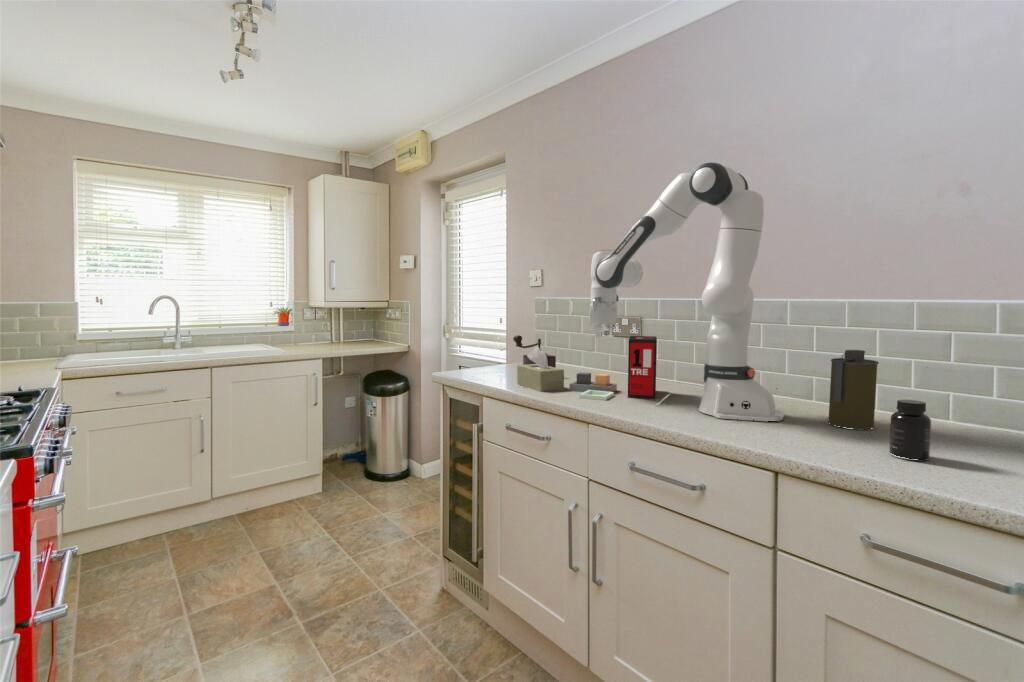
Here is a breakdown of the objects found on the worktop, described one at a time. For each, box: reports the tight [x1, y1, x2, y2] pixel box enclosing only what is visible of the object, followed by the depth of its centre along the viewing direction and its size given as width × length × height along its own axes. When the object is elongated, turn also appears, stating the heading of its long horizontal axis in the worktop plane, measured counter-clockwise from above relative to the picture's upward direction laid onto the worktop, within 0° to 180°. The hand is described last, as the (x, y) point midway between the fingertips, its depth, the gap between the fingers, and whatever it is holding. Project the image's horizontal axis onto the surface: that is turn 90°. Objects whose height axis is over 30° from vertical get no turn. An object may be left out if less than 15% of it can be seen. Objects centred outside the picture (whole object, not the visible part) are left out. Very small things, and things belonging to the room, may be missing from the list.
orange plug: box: [594, 373, 611, 386], centre depth 182 cm, size 4×4×6 cm
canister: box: [827, 349, 880, 429], centre depth 135 cm, size 11×10×20 cm
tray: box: [579, 390, 615, 401], centre depth 172 cm, size 9×9×2 cm
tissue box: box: [516, 346, 565, 393], centre depth 191 cm, size 19×10×16 cm, turn 27°
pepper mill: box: [512, 334, 557, 368], centre depth 216 cm, size 16×11×18 cm
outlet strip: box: [568, 380, 618, 393], centre depth 183 cm, size 15×8×3 cm, turn 62°
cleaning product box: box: [627, 335, 658, 400], centre depth 177 cm, size 16×9×20 cm, turn 165°
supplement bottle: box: [888, 399, 932, 461], centre depth 109 cm, size 7×7×12 cm
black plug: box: [576, 371, 592, 385], centre depth 185 cm, size 4×4×6 cm
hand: (603, 336), depth 181 cm, fingers open, 8 cm apart
